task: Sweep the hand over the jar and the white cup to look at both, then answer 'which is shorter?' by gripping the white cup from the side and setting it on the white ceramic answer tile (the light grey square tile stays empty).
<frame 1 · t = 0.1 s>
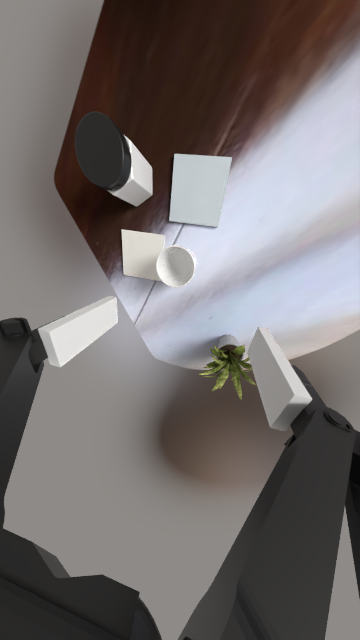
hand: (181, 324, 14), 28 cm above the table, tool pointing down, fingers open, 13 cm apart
white cup: (184, 262, 38), on the table
house plant: (227, 337, 45), on the table
jar: (136, 182, 33), on the table
light grey square tile: (197, 193, 32), on the table
tile shorter: (143, 256, 40), on the table
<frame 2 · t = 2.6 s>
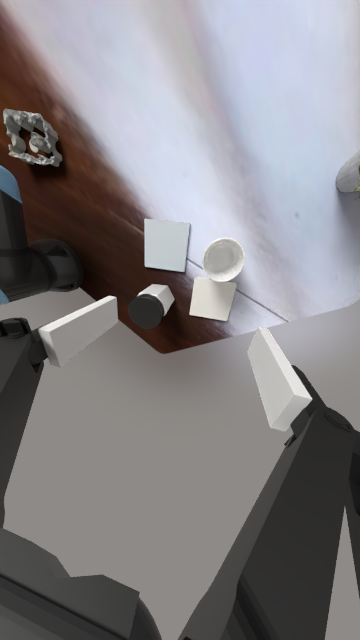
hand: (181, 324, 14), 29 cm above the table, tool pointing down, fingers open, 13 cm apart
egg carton: (42, 146, 35), on the table
white cup: (220, 257, 38), on the table
house plant: (343, 177, 28), on the table
jar: (160, 297, 45), on the table
light grey square tile: (166, 246, 39), on the table
tile shorter: (211, 299, 42), on the table
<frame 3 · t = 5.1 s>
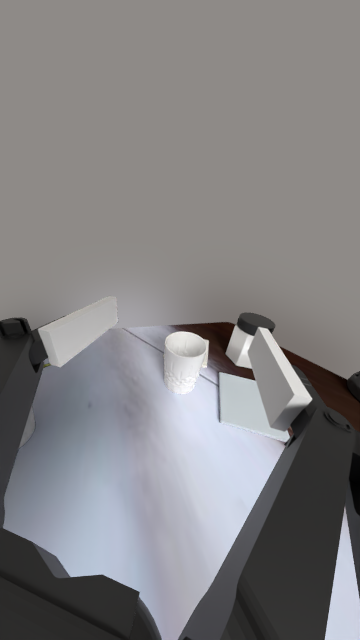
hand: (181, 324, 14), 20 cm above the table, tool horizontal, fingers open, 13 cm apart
white cup: (179, 381, 32), on the table
jar: (241, 358, 42), on the table
light grey square tile: (247, 402, 30), on the table
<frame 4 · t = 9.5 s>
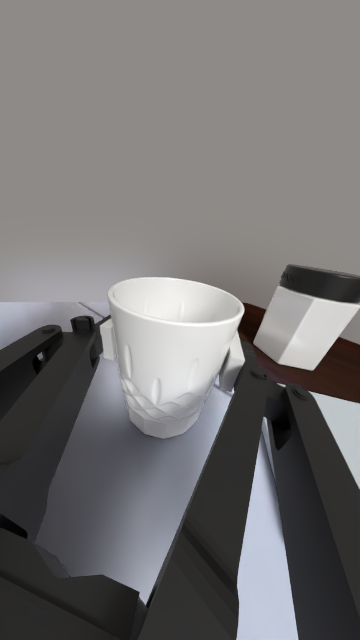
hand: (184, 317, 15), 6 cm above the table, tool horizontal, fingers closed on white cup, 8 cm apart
white cup: (164, 398, 14), on the table, touching gripper
jar: (281, 350, 24), on the table
light grey square tile: (340, 460, 11), on the table
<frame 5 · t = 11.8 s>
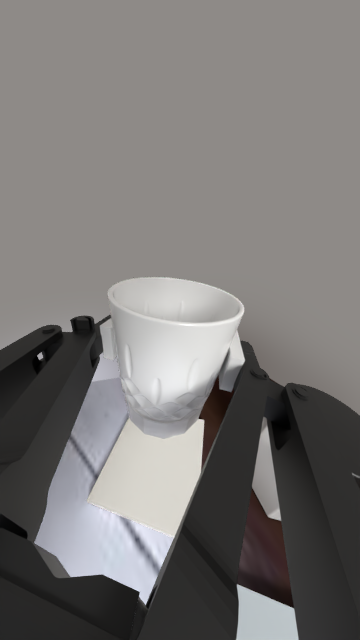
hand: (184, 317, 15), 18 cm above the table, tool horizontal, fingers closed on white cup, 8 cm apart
white cup: (164, 398, 14), point 12 cm above the table, touching gripper
jar: (273, 474, 19), on the table
tile shorter: (157, 454, 19), on the table
when the fingers open (8 cm above the table, at t = 14.0 s): white cup stays where it is, resting on tile shorter.
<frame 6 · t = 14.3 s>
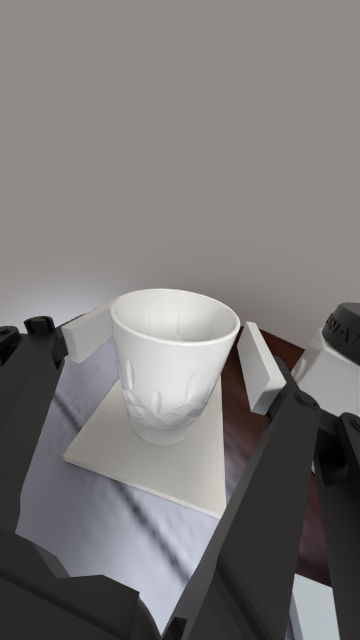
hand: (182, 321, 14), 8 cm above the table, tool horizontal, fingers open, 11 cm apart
white cup: (164, 405, 14), point 1 cm above the table, touching tile shorter
jar: (316, 434, 15), on the table
tile shorter: (163, 408, 15), on the table
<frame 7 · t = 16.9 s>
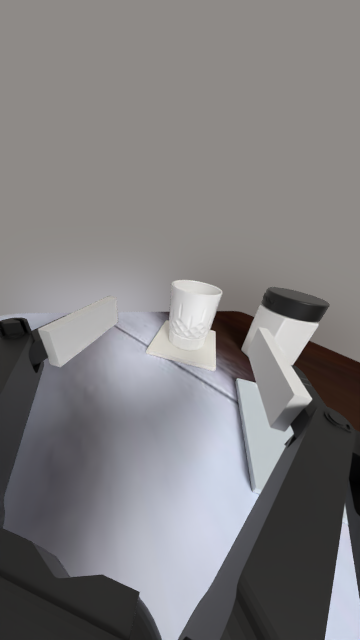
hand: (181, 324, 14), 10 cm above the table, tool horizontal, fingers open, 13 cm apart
white cup: (186, 340, 28), point 1 cm above the table, touching tile shorter
jar: (264, 356, 28), on the table
light grey square tile: (293, 436, 16), on the table
tile shorter: (185, 342, 28), on the table
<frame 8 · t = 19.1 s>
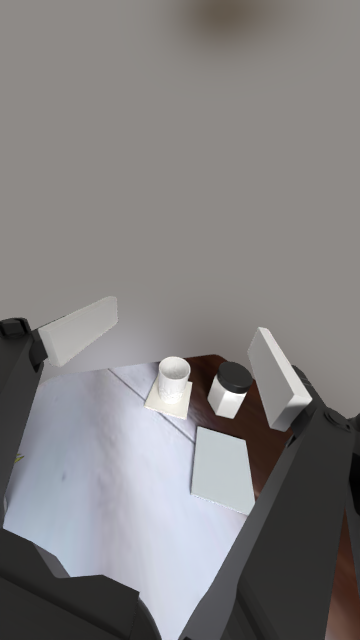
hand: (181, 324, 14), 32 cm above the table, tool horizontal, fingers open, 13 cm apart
white cup: (170, 393, 42), point 1 cm above the table, touching tile shorter
jar: (222, 403, 43), on the table
light grey square tile: (221, 465, 30), on the table
tile shorter: (170, 394, 43), on the table
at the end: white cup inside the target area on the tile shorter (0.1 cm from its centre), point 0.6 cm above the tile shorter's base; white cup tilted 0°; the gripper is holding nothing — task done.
